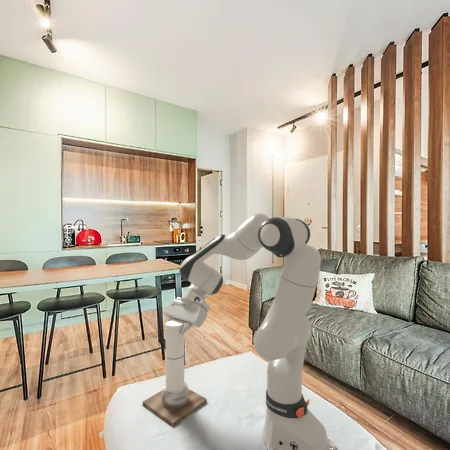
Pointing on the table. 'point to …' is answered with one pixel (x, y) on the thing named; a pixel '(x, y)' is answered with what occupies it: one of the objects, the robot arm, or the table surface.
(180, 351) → the cylindrical container
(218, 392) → the table surface
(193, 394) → the base
